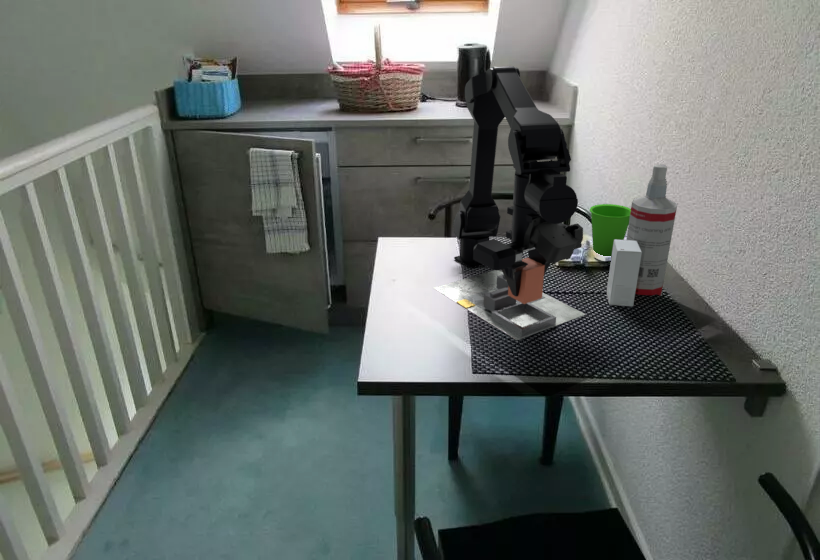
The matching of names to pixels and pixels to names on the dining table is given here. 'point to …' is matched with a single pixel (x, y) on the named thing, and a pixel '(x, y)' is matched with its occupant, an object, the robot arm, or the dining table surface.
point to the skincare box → (623, 272)
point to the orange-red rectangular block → (530, 282)
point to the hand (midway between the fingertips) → (525, 292)
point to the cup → (608, 226)
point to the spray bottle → (652, 232)
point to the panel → (508, 307)
